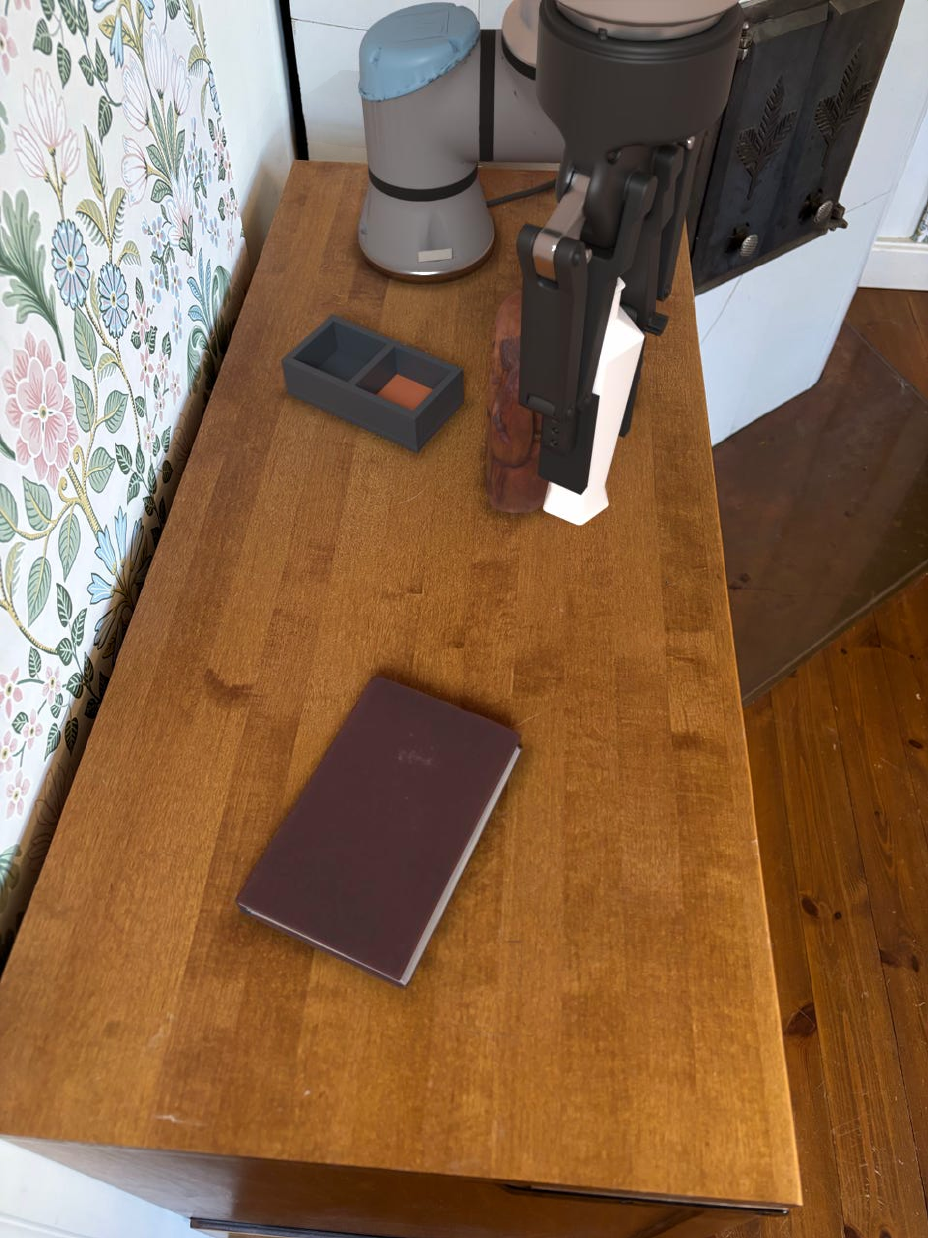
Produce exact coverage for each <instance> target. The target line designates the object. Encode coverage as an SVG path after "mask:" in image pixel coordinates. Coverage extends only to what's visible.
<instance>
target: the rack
mask: <svg viewBox="0 0 928 1238" xmlns="http://www.w3.org/2000/svg"><path fill="white" fill-rule="evenodd" d="M280 362H281V368H282V373H283V378H284V382H285V387H286V391H287V395H288V396H291V397H293V398H295V399H297V400H299V401H301V402H304V403H306V404H308V405H310V406H312V407H315V408H317V409H319V410H320V411H324V412H326V413H328V414H330V415H332V416H334V417H336V418H338V419H341V420H343V421H345V422H348V423H349V424H351V425H354V426H356V427H359V428H360V429H363V430H365V431H367V432H369V433H372V434H374V435H376V436H378V437H380V438H383V439H385V440H387V441H390V442H392V443H394V444H395V445H398V446H400V447H402V448H404V449H407V450H409V451H411V452H413V453H416V454H418V453H419V452H420V451H421V450H422V449H423V447H425V446H426V445H427V443H428V442H429V441H430V440H431V439H432V438H433V437H434V436H435V435H436V433H438V431H439V430H440V429H441V428H442V427H443V426H444V425H445V424H446V423H447V422H448V421H449V419H451V418H452V416H453V415H454V414H455V413H456V412H457V411H458V410H459V409H460V408H461V407H462V406H463V404H464V401H465V400H464V397H465V396H464V395H465V394H464V367H461V366H459V365H456V364H453V363H451V362H448V361H446V360H444V359H441V358H439V357H437V356H434V355H433V354H432V355H431V354H430V353H427V352H424V351H422V350H420V349H417V348H415V347H413V346H410V345H408V344H406V343H402V342H400V341H398V340H396V339H393V338H391V337H388V336H386V335H383V334H381V333H378V332H377V331H374V330H371V329H369V328H367V327H365V326H361V325H359V324H358V323H355V322H352V321H350V320H347V319H345V318H343V317H341V316H338V315H335V314H334V313H332V314H330V315H329V316H328V317H327V318H326V319H325V320H323V321H322V323H321V324H320V325H319V326H317V327H316V328H315V329H314V330H313V331H312V332H310V333H309V334H308V335H307V336H306V337H305V338H304V339H302V340H301V341H300V342H299V343H298V344H297V345H296V346H295V347H293V348H292V349H291V350H290V351H289V352H288V353H286V355H285V356H283V357H282V358H281V359H280Z"/></svg>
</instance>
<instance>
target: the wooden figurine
mask: <svg viewBox="0 0 928 1238" xmlns="http://www.w3.org/2000/svg"><path fill="white" fill-rule="evenodd" d="M521 306H522V289H520V290H517V291H515V292H513V293H511V294H510V295H508V296H507V297H506V298H505V299H504V300H503V302H502V303H501V305H500V306H499V308H498V310H497V312H496V315H495V320H494V323H493V324H494V325H493V333H492V340H491V342H492V355H491V362H492V366H491V368H490V372H489V376H488V385H487V386H488V387H487V393H488V394H487V395H488V403H487V409H486V423H485V424H486V425H485V457H486V464H485V465H486V467H485V468H486V469H485V471H486V474H485V482H486V484H485V485H486V493H487V496H488V499H489V502H490V505H491V507H492V509H494V510H496V511H499V512H501V513H511V514H523V513H524V514H530V513H534V512H535V511H537V510H538V509H539V508H541V507H543V506H544V502H545V498H546V493H547V489H548V485H549V482H550V481H547V480H545V479H543V478H541V477H538V465H539V451H540V438H541V425H542V415H541V414H538V413H536V412H534V411H531V410H529V409H527V408H524V407H522V406H520V405H519V404H518V391H519V363H520V334H521Z"/></svg>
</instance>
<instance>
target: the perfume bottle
mask: <svg viewBox="0 0 928 1238" xmlns="http://www.w3.org/2000/svg"><path fill="white" fill-rule="evenodd" d="M624 287H625V283H624V282H623V281H622V280H621V278H620V277H618V281H617V285H616V290H615V294H614V298H613V303H612V307H611V312H610V316H609V320H608V325H607V329H606V333H605V338H604V342H603V347H602V351H601V355H600V360H599V364H598V369H597V373H596V377H595V382H594V386H593V391H592V393H594V394H597V395H599V396H600V399H599V407H598V414H597V421H596V429H595V436H594V443H593V451H592V458H591V465H590V473H589V480H588V487H587V488H586V489H585V491H584V492H583V493H582V495H579V494H577V493H574V492H572V491H570V490H568V489H565V488H563V487H561V486H559V485H556V484H554V483H552V482H549V485H548V489H547V493H546V498H545V502H544V503H543V505H542V507H543V508H542V510H543V511H545V512H546V513H548V514H550V515H552V516H555V517H558V518H559V519H562V520H565V521H567V522H569V523H571V524H574V525H576V526H583V525H584V524H586V523H587V522H589V521H590V520H591V519H593V518H594V517H596V516H597V515H598V514H599V513H601V512H602V511H603V510H605V509H607V508H608V506H609V504H610V503H609V499H608V498H609V497H608V493H607V489H606V482H607V478H608V476H609V472H610V467H611V464H612V460H613V456H614V452H615V449H616V445H617V441H618V437H619V436H618V434H619V430H620V427H621V423H622V419H623V415H624V412H625V408H626V404H627V400H628V397H629V393H630V389H631V385H632V382H633V378H634V374H635V370H636V367H637V363H638V359H639V355H640V352H641V348H642V344H643V340H644V337H645V336H644V335H643V333H642V332H641V331H640V330H639V328H638V327H637V326H636V325H635V324H634V322H633V321H632V320H631V319H630V318H629V316H628V315H627V314H626V313H625V312H624V310H623V309H622V308H621V307H620V306H619V302H620V295H621V290H622V289H623V288H624Z"/></svg>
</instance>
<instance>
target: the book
mask: <svg viewBox="0 0 928 1238" xmlns="http://www.w3.org/2000/svg"><path fill="white" fill-rule="evenodd" d="M522 736H523V735H522V734H521V733H519V732H517V731H514V730H513V729H511V728H509V727H506V726H504V725H502V724H500V723H498V722H496V721H493V720H491V719H489V718H486V717H484V716H482V715H480V714H477V713H474V712H471V711H468V710H466V709H464V708H463V709H462V708H460V707H459V706H456V705H454V704H452V703H449V702H446V701H444V700H442V699H438V698H437V697H433V696H431V695H429V694H426V693H424V692H421V691H419V690H416V689H414V688H411V687H408V686H407V685H404V684H401V683H398V682H395V681H393V680H390V679H388V678H384V677H381V676H378V675H374V676H373V677H371V679H370V680H369V681H368V683H367V684H366V685H365V688H364V689H363V691H362V693H361V694H360V696H359V698H358V699H357V701H356V703H355V704H354V706H353V707H352V709H351V710H350V712H349V713H348V715H347V717H346V719H345V720H344V722H343V724H342V725H341V727H340V729H339V730H338V732H337V733H336V735H335V737H334V739H333V740H332V742H331V744H330V745H329V747H328V749H327V750H326V752H325V754H324V755H323V757H322V758H321V760H320V762H319V763H318V765H317V766H316V768H315V770H314V771H313V773H312V774H311V776H310V778H309V779H308V781H307V782H306V784H305V785H304V787H303V789H302V790H301V792H300V794H299V795H298V797H297V799H296V801H295V802H294V803H293V805H292V807H291V808H290V810H289V812H288V814H287V815H286V817H285V818H284V820H283V821H282V823H281V825H280V826H279V827H278V829H277V830H276V832H275V833H274V835H273V837H272V839H271V840H270V842H269V844H268V845H267V847H266V848H265V850H264V852H263V853H262V855H261V856H260V858H259V860H258V861H257V863H256V864H255V866H254V868H253V869H252V870H251V872H250V873H249V876H248V877H247V879H246V880H245V882H244V884H243V885H242V887H241V888H240V890H239V891H238V893H237V895H236V897H235V899H234V902H235V904H236V905H237V908H238V910H240V913H242V914H243V915H245V916H249V917H251V918H253V919H254V920H256V921H258V922H260V923H262V924H264V925H265V926H268V927H270V928H272V929H274V930H276V931H278V932H280V933H282V934H285V935H286V936H289V937H291V938H293V939H295V940H297V941H299V942H302V943H303V944H306V945H308V946H311V947H312V948H314V949H315V950H317V951H319V952H322V953H324V954H326V955H328V956H330V957H333V958H334V959H336V960H339V961H341V962H343V963H346V964H349V965H350V966H352V967H354V968H356V969H357V970H359V971H362V972H363V973H365V974H367V975H370V976H372V977H374V978H376V979H379V980H381V981H383V982H385V983H387V984H389V985H391V986H394V987H396V988H399V989H403V990H407V989H408V987H409V985H410V983H411V981H412V979H413V978H414V976H415V974H416V972H417V970H418V967H419V965H420V963H421V961H422V959H423V957H424V955H425V953H426V951H427V949H428V947H429V944H430V942H431V941H432V938H433V935H434V934H435V931H436V930H437V928H438V925H440V924H439V923H440V922H441V920H442V919H443V916H444V914H445V912H446V910H447V908H448V906H449V903H450V902H451V900H452V898H453V895H454V894H455V892H456V889H457V887H458V885H459V883H460V881H461V879H462V877H463V875H464V873H465V870H466V868H467V866H468V864H469V862H470V860H471V858H472V856H473V854H474V852H475V850H476V847H477V846H478V843H479V841H480V840H481V837H482V835H483V833H484V831H485V829H486V827H487V824H488V823H489V821H490V818H491V817H492V814H493V812H494V811H495V808H496V806H497V804H498V802H499V800H500V798H501V795H502V793H503V792H504V790H505V788H506V785H507V783H508V781H509V779H510V777H511V775H512V773H513V772H514V770H515V768H516V765H517V763H518V761H519V759H520V758H521V755H522V753H523V751H524V747H521V746H519V744H520V741H521V739H522Z"/></svg>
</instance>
